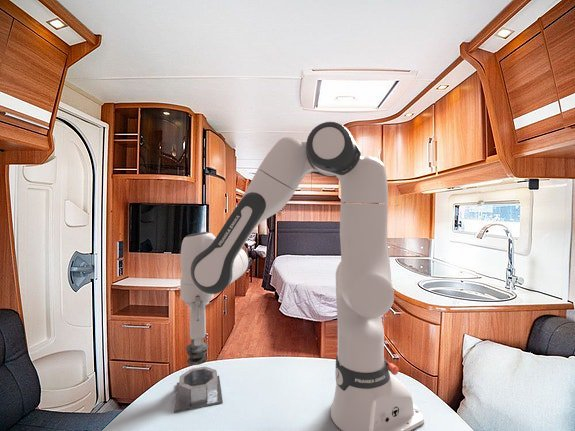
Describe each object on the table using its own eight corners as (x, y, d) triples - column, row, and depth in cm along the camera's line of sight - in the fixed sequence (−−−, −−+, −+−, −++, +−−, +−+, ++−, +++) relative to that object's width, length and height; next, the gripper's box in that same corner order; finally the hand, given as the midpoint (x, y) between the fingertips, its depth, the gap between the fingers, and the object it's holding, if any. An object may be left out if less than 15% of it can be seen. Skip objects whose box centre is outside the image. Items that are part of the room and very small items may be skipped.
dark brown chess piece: (202, 366, 77) (202, 322, 77) (181, 364, 78) (181, 320, 78) (211, 355, 83) (211, 314, 83) (192, 353, 84) (192, 312, 84)
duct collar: (219, 377, 89) (219, 362, 88) (222, 403, 77) (222, 386, 77) (176, 384, 85) (176, 369, 85) (174, 412, 74) (173, 394, 73)
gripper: (211, 302, 71) (211, 358, 72) (208, 280, 91) (207, 324, 91) (184, 304, 69) (184, 361, 70) (186, 282, 89) (186, 327, 89)
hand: (197, 340), depth 81 cm, fingers closed on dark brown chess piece, 3 cm apart
